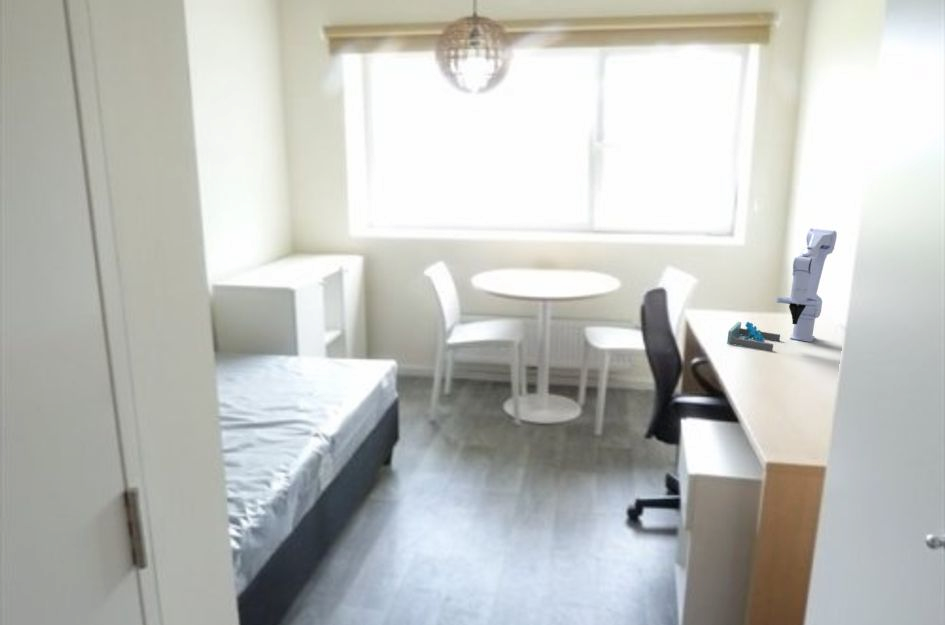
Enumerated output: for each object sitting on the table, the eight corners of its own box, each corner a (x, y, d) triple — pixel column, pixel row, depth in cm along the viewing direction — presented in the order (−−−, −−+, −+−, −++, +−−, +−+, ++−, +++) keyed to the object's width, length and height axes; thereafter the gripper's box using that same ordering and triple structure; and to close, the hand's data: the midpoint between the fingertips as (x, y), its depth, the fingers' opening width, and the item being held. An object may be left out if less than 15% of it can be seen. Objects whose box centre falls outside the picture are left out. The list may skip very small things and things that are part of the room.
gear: (760, 343, 263) (745, 321, 266) (747, 351, 266) (732, 329, 270) (770, 341, 271) (755, 320, 275) (757, 349, 274) (742, 328, 278)
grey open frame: (736, 333, 281) (738, 321, 280) (779, 340, 273) (781, 328, 272) (727, 343, 267) (728, 330, 266) (771, 351, 259) (773, 338, 258)
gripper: (777, 287, 259) (772, 322, 263) (820, 293, 252) (814, 329, 255) (780, 284, 265) (775, 318, 269) (822, 290, 258) (816, 325, 261)
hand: (794, 323), depth 262 cm, fingers closed
